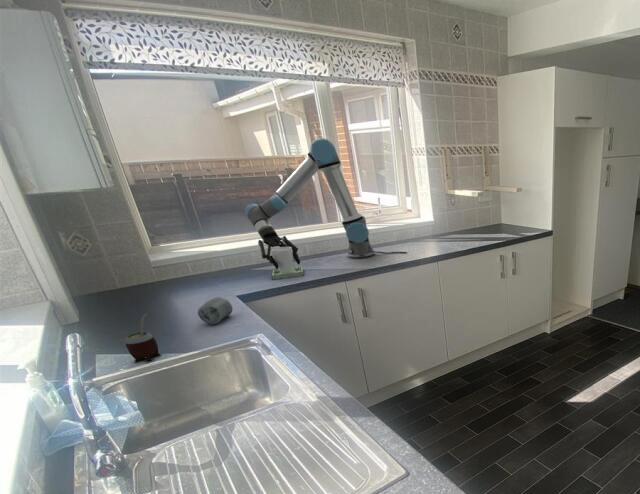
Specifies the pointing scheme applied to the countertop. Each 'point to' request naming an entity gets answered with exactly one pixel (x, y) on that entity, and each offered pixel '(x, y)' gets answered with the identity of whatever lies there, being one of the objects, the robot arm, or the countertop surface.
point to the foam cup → (284, 259)
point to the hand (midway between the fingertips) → (288, 265)
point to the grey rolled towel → (215, 310)
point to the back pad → (278, 275)
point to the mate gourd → (142, 344)
